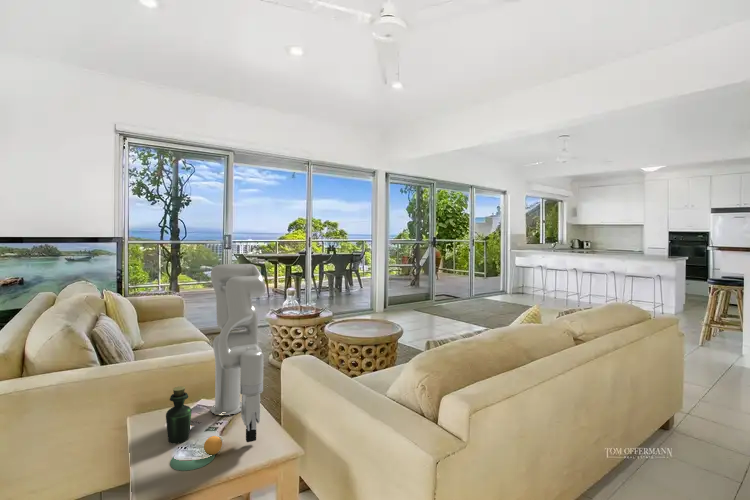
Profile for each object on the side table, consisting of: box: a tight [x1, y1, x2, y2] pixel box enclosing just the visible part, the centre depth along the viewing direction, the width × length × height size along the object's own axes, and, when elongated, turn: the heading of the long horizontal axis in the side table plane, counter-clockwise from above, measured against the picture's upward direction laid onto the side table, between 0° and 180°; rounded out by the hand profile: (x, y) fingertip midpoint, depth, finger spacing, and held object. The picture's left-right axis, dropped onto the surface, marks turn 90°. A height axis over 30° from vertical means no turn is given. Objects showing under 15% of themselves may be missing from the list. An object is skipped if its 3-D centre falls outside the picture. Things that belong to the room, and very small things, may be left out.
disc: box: [169, 454, 216, 472], centre depth 125 cm, size 13×13×1 cm
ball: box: [203, 435, 223, 455], centre depth 128 cm, size 6×6×6 cm
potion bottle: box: [165, 385, 193, 445], centre depth 136 cm, size 8×8×18 cm
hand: (251, 440), depth 134 cm, fingers closed
